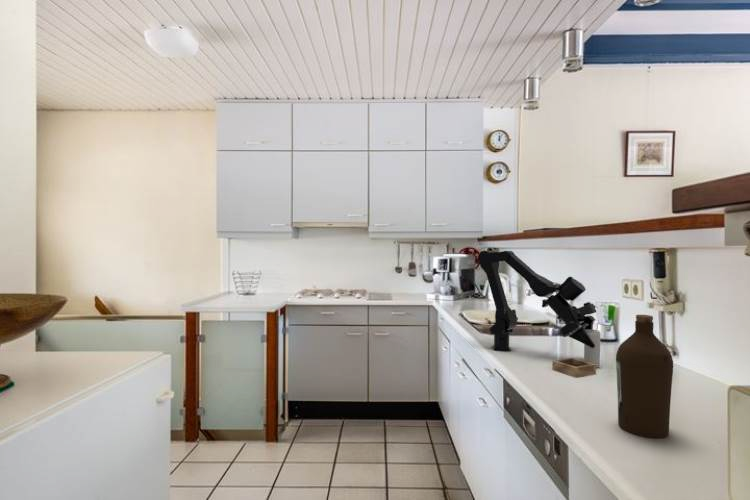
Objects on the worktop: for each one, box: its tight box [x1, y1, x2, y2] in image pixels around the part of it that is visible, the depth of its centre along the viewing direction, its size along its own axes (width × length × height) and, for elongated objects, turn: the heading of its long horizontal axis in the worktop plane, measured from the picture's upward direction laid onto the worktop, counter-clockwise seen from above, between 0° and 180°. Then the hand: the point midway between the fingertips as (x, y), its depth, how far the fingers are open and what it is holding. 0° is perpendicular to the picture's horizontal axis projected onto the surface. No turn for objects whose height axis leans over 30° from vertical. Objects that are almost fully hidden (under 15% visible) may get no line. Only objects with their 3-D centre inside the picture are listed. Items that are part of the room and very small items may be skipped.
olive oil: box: [615, 314, 674, 439], centre depth 93 cm, size 11×11×25 cm
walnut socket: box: [551, 357, 597, 378], centre depth 136 cm, size 9×9×3 cm
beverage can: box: [583, 329, 601, 369], centre depth 142 cm, size 5×5×12 cm
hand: (596, 345), depth 141 cm, fingers closed on beverage can, 5 cm apart
